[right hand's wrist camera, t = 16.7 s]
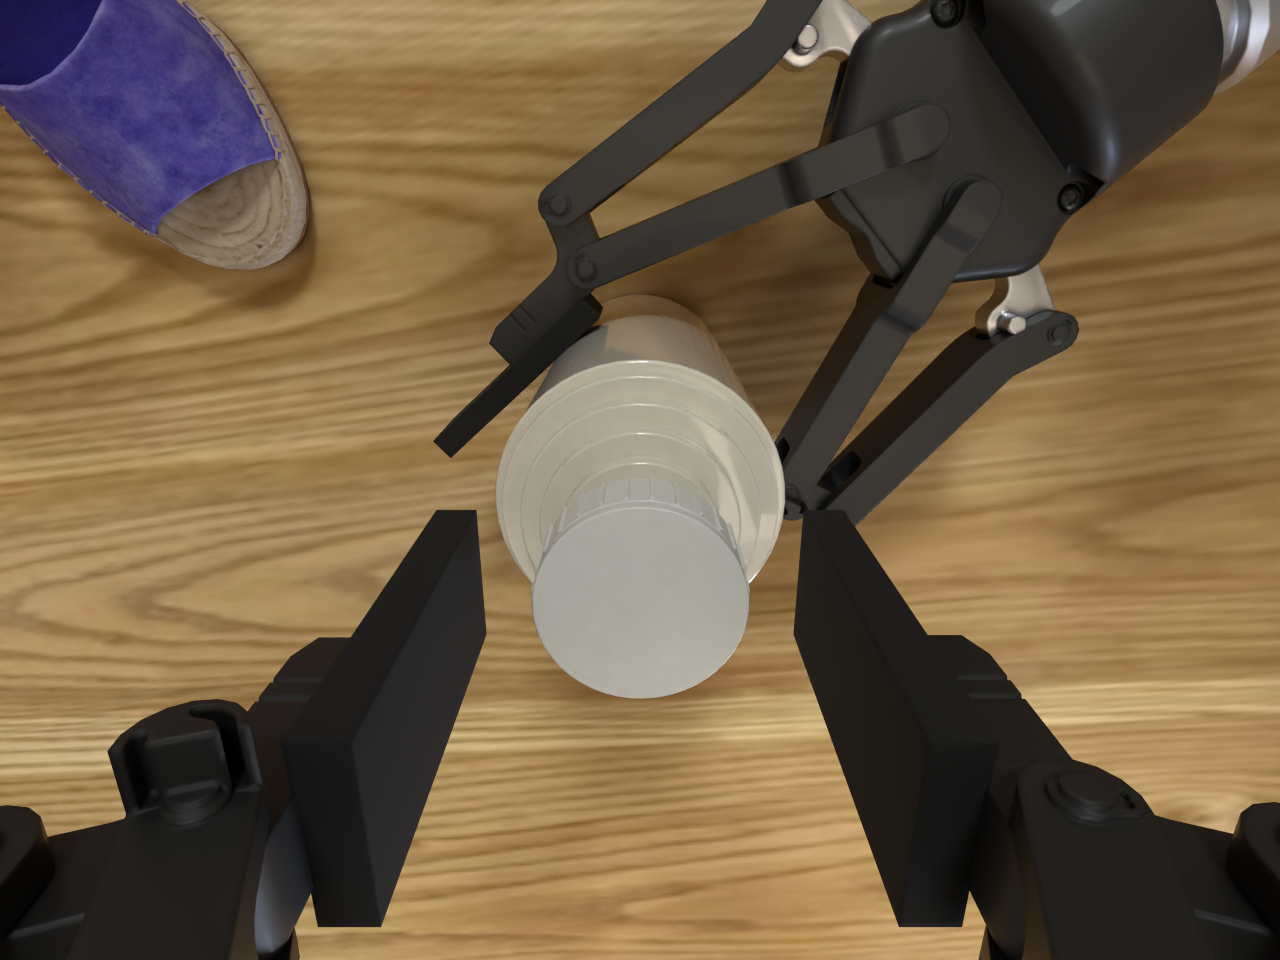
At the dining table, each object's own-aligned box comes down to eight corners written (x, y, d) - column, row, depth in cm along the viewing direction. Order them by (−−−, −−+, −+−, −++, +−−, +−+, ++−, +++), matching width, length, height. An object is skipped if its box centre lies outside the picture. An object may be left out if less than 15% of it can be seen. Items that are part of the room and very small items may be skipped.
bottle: (540, 307, 30) (408, 440, 13) (715, 282, 29) (818, 383, 12) (571, 471, 32) (494, 767, 15) (733, 449, 32) (840, 726, 15)
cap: (591, 682, 16) (587, 730, 14) (503, 522, 14) (488, 556, 13) (770, 615, 15) (784, 656, 14) (695, 442, 14) (701, 467, 12)
